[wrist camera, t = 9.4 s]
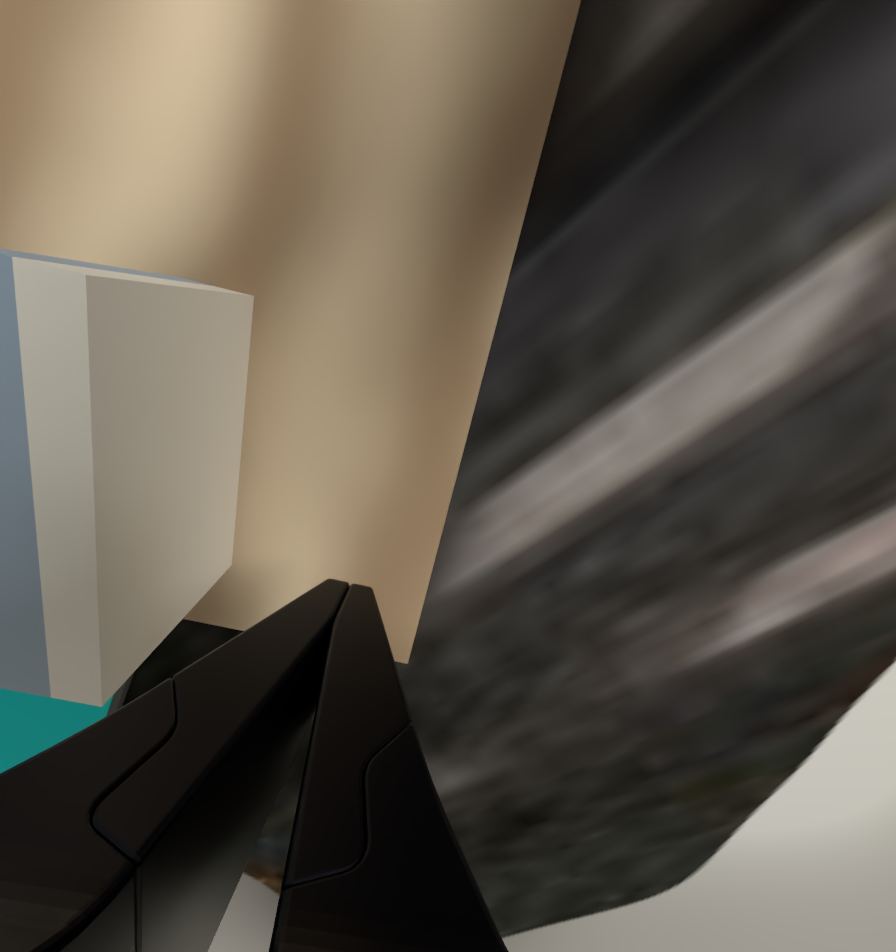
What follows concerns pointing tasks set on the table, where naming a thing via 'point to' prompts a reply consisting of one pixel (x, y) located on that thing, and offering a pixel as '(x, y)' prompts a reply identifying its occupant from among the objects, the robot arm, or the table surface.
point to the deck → (111, 464)
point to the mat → (302, 237)
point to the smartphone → (45, 722)
